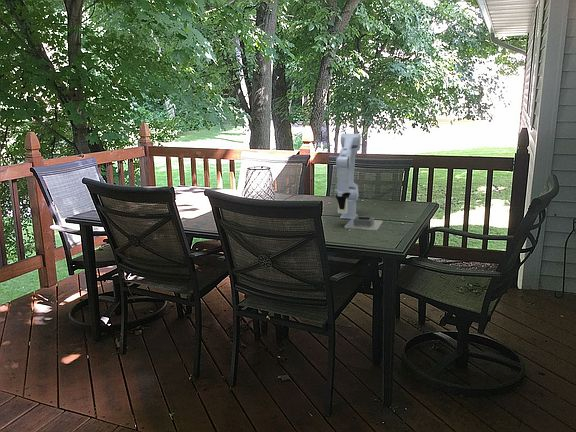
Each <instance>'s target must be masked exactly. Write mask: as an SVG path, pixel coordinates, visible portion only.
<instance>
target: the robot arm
mask: <svg viewBox="0 0 576 432" xmlns="http://www.w3.org/2000/svg"><path fill="white" fill-rule="evenodd" d="M361 137H362V136H361V134H360V133H342V134H341V135H340V145H341V149H340V151H339V155H338V157H336V159H335V160H336V162H335V166H336V172H337V173H336V174H337V177H336V179H337V180H336V181H337V182H336V183H337V188H335V190H334V192H336V193H337V194H335V199H336V200H337V205H338V204H339V208H340V209H344V208H345V202H346V198H348V212H347V213H346V214H344V213H341V215H340V217H339V219H345V220H346V219H348V220H351V219H355V218H356V217H357V216H359V214H357V201H358V199H359V195H360V194H359V186H358V184H357V183H356V182H355V166H356V154H357V152H359V151H360V149H361V139H362V138H361Z"/></svg>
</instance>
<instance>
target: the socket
mask: <svg viewBox="0 0 576 432" xmlns="http://www.w3.org/2000/svg"><path fill="white" fill-rule="evenodd" d="M382 224H383V220H379V219H378V220H377V219H375V217H374V216H363V215H362V216H361V215H358V216H357V217H356V218H355V219H349V221H348V222H347V223H346V224H345V225H344V229H354V230H366V231H367V230H368V231H378V230H379V229H380V227H381V226H382Z"/></svg>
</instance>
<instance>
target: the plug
mask: <svg viewBox="0 0 576 432" xmlns="http://www.w3.org/2000/svg"><path fill="white" fill-rule="evenodd" d="M347 212H348V198H346V202H345V208H344V209H340V208H339V204H338V203H337V214H342V213H344V214H346V213H347Z"/></svg>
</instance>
